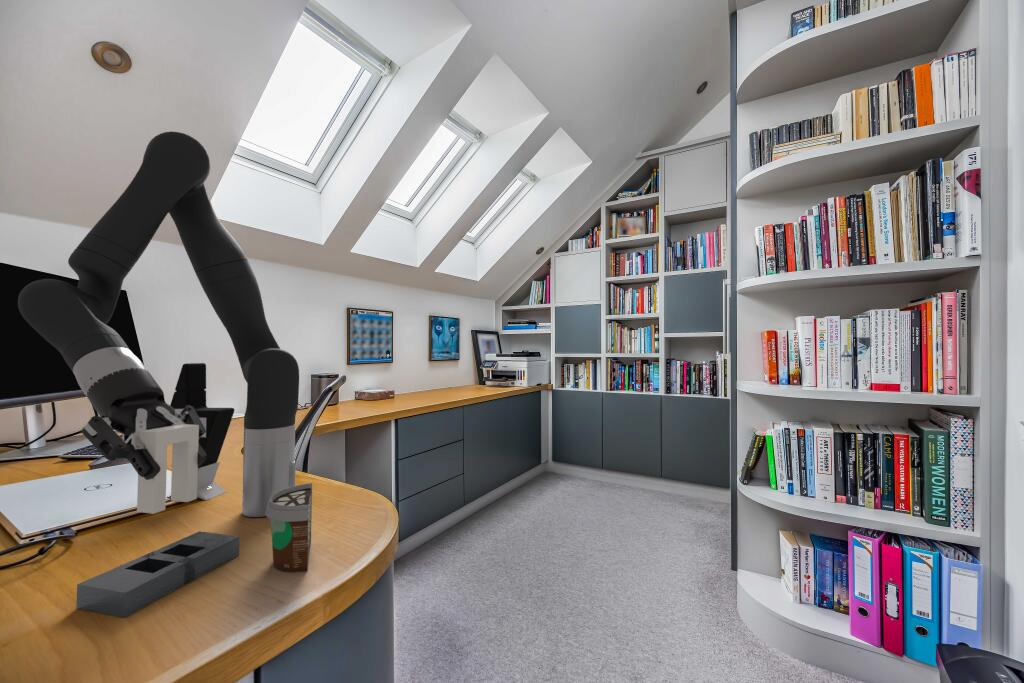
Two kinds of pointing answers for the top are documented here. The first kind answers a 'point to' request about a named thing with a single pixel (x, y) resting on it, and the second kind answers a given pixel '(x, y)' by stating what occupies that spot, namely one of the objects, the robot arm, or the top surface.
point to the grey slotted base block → (155, 574)
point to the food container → (291, 527)
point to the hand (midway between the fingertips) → (178, 468)
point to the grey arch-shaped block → (183, 466)
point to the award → (213, 420)
